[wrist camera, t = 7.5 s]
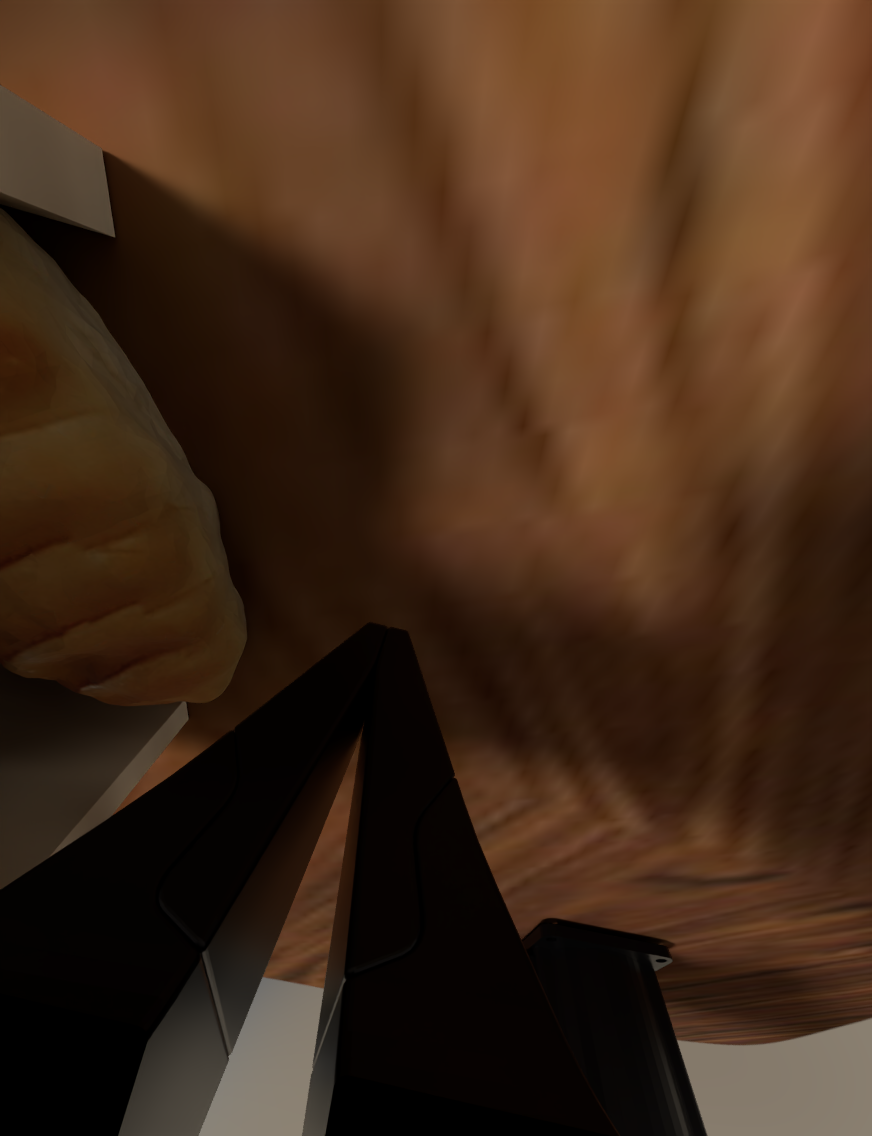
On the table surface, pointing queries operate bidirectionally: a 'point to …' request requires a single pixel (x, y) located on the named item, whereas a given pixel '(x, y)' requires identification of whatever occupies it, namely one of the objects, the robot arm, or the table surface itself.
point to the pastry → (99, 510)
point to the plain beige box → (34, 705)
